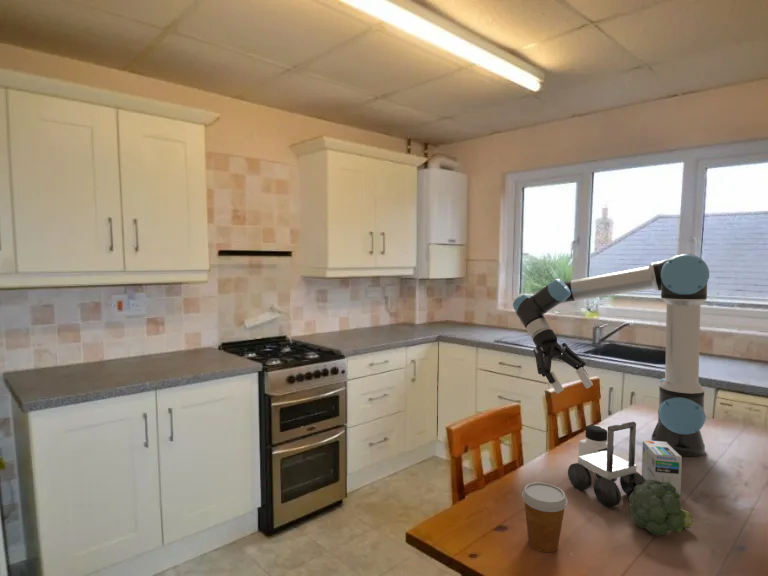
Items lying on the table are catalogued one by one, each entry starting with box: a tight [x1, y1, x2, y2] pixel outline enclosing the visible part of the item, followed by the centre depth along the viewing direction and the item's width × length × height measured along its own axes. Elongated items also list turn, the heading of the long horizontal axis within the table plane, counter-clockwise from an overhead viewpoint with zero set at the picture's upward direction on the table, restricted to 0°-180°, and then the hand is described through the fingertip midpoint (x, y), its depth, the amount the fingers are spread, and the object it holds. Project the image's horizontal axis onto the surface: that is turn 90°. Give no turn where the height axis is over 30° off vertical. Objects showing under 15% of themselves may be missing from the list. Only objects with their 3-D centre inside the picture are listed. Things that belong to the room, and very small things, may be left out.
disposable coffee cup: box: [521, 481, 568, 553], centre depth 102 cm, size 10×10×12 cm
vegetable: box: [628, 479, 694, 537], centre depth 108 cm, size 12×13×15 cm
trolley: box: [567, 421, 646, 509], centre depth 123 cm, size 11×16×21 cm
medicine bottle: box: [577, 424, 615, 458], centre depth 140 cm, size 7×7×12 cm
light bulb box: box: [641, 439, 683, 496], centre depth 128 cm, size 11×7×11 cm, turn 168°
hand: (575, 389), depth 146 cm, fingers open, 13 cm apart
